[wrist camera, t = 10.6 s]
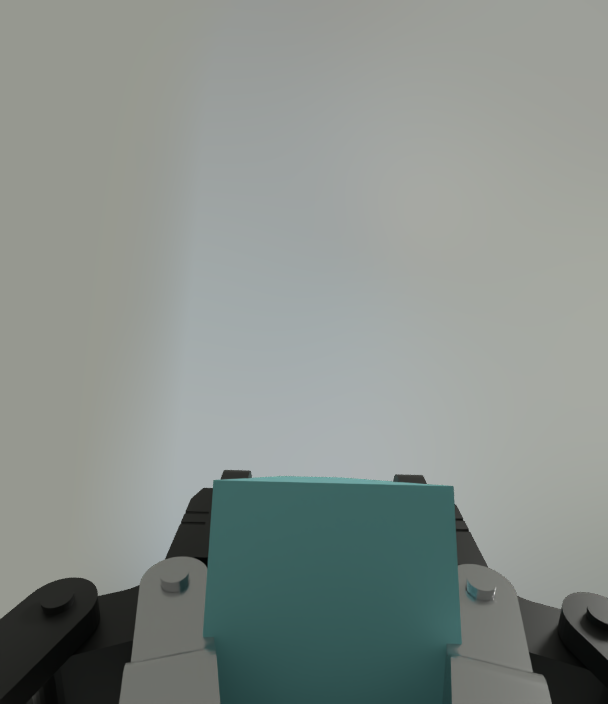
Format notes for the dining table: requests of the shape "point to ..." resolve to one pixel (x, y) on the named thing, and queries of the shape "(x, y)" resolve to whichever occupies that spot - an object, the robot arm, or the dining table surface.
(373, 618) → the batten
